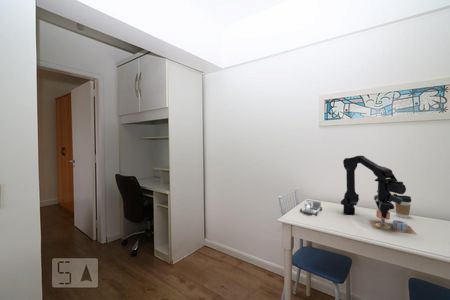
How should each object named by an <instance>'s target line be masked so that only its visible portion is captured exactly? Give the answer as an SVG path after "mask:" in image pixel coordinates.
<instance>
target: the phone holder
mask: <svg viewBox="0 0 450 300" xmlns="http://www.w3.org/2000/svg"><path fill="white" fill-rule="evenodd" d="M321 203H322V202H321V201H319V200H314V199H308V198H307V199H306V202H305V203H304V206H305V207H303V208H300V209H299V213H300V212H301V213H307V214H312V215H315V216H316V217H317V216H318V214H319V211H320V212H322V211H323V207H322V204H321Z"/></svg>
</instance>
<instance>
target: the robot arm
mask: <svg viewBox="0 0 450 300" xmlns="http://www.w3.org/2000/svg"><path fill="white" fill-rule="evenodd" d="M342 161H343V162H342V163H343V167H344V169H345V171H346V174H345V175H346V191H345V193H344V195H343V199H342V200H341V201H340V205H343V208H342V209H343V210H342V213H343V215H350V216H355V214H356V208H355V206H357V204H358V203H359V200H360V198H359V194H358V193H357V192H356V179H355V178H356V177H355V176H356V173H355V171H356V169H357V167H358V164H361V165H363V166H364V167H366V168H367V169H369V170H370V171H372V173H373V174H374V176H376V177H377V178H375V179H374V181H375V182H377V190H376V193H377V194H375V195H373V200H374V202H375V205H376V207H377V208H378V209H377V210H380V211H381V214H382V216H383V218H386V216H387V213H388V212H389V211H390V210H394V209H395V205H394V204H393V203H397V204H399V205H400V204H401V202H402V199H401V198H400V197H398V195H404V194H405V193H406V191H407V187H406V185H405V184H404V182H403V181H398V179H397V177H396V176H395V174H394V173H393V171H392V169H390V168H388V167H385V166H381V165H379V164H377V163H375V162H374V161H372V160H370V159H368V158H367V157H366V156H365V155H356V156H352V157H345V158H344V159H343V160H342ZM392 202H393V203H392Z"/></svg>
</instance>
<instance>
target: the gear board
mask: <svg viewBox="0 0 450 300" xmlns="http://www.w3.org/2000/svg"><path fill="white" fill-rule="evenodd" d="M385 221H386V220H384V219H380V221H375V220H369V219H368V222H369V224H370V226H371V228H372V229H375V230H381V231H388V232H393V233H401V234H407V235H408V234H409V235H415V236H418V233H417V232H416V231H415V230H414V229H413V228H412V226H410V225H408V224H407V230H406V231H402V230H398V229H395V228H393V222H392V223H391V222H385ZM402 221H403V220H400V221H399V220H398V223H402Z"/></svg>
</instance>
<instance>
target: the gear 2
mask: <svg viewBox="0 0 450 300" xmlns="http://www.w3.org/2000/svg"><path fill="white" fill-rule="evenodd" d="M398 221H402V223H398ZM392 223H393V228H395V229H398V230H402V231H406V230H407V225H408V222H406V221H403V220H398V219H394V220H393V221H392Z"/></svg>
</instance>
